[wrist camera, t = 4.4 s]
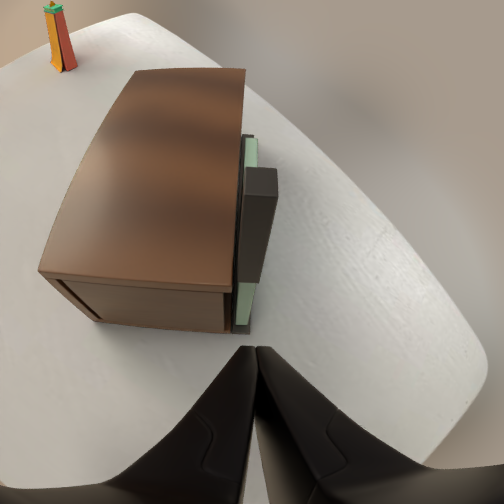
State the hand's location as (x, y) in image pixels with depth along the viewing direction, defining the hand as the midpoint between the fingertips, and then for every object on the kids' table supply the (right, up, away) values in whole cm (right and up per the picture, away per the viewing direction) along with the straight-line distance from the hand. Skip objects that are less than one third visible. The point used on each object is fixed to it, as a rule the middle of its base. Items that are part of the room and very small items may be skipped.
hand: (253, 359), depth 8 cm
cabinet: (-6, +6, +16) cm, 19 cm away
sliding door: (-1, +3, +14) cm, 14 cm away
